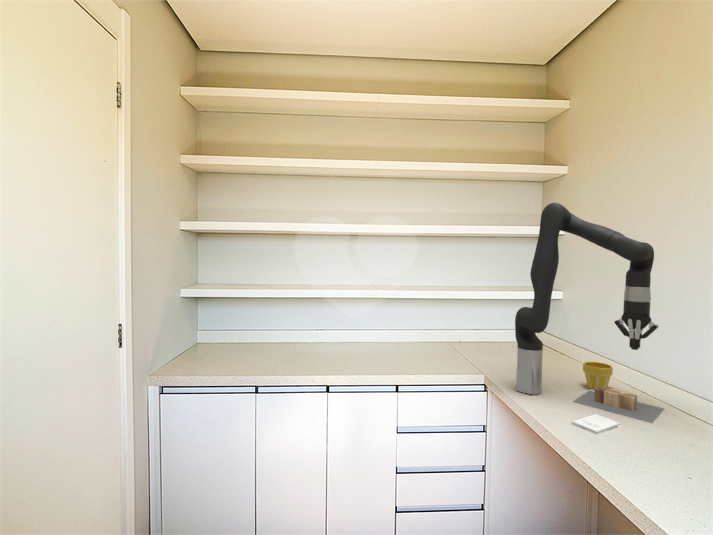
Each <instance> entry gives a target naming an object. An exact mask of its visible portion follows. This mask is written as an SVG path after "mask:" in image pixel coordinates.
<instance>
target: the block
mask: <svg viewBox="0 0 713 535" xmlns="http://www.w3.org/2000/svg"><path fill="white" fill-rule="evenodd" d="M594 392H595V398H594V401H595V402H599V403H603V404H607V405H611V406H615V407H619V408H623V409H626V410H630V411H634V410H635V409H636V408H637V402H638V395H637V394H633V393H628V392H625V391H620V390H617V389H611V388H608V387H607V388H603V387H597V388H596V389H594Z"/></svg>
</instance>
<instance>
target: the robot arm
mask: <svg viewBox="0 0 713 535" xmlns="http://www.w3.org/2000/svg"><path fill="white" fill-rule="evenodd" d="M539 222H540V223H539V230H538V231H539V232H538V238H537V243H536V246H535V249H534V250H535V251H534V256H533V259H532V262H531V268H530V274H529V276H530V280H531V284H532V288H533V297H534V298H533V303H532V307H529V306H523V307H520V308H519V309H518V310H517V311H516V313H515V318H514V325H515V326H514V329H515V333H514V334H515V335H514V336H515V340H516V342H517V346H516V347H517V348H516V349H517V350H516V351H517V352H516V353H517V356H516V378H515V379H516V381H515V382H516V386H515V390H516V392H518V391H519V392H518V393H522V392H523V394H525V393H527V394H526V395H529V394H531V395H530V396H533V395H540V394H542V393H541V392H542V390H543V388H542V387H543V355H544V354H543V351H544V344H543V341H542V340H541V339H540V338H539V337H538V336H537V334H540V333H543V332H544V331H545V330H546V328H547V326H548V324H549V320H550V311H551V310H550V309H551V301H552V294H553V289H554V284H555V280H556V277H557V271H558V267H559V260H560V258H559V257H560V255H559V235H560V232H565V233H569V234H572V235H575V236H577V237H580V238H582V239H584V240H586V241H588V242H590V243H592V244H594V245H597V246H598V247H600V248H602V249H605V250H607V251H610V252H613V253H614V254H615V255H618V256H619V257H621V258H623V259H625V260H627V261H629V269H628V270H627V271H626V273H625V284H624V285H625V287H624V292H623V309H622V312H623V313H622V315H621V316H620V318H619V319H617V320H614V324H615V326H616V327H617V328H618V330H620V332H621V334H622V335H623V336H624V337H628V338H629V343H628V344H629V345H628V346H629V348H631V350H634V351H637V350H639V349H640V348H641V340H642V339H646V338H648V337H649V336H651V334H653V333H655V331H656V330H657V329H658V328H659V325H658V324H655V322H653V321H652V318H651V302H652V301H651V300H652V296H651V280H652V279H651V278H652V277H651V272H652V270H653V265H654V260H655V249H654V247H653V246H652V244H650V243H648V242H644V241H642V242H641V241H638V240H635V239H633V238H630V237H628V236H625V235H624V234H622V233H621V232H619V231H617V230H614V229H611V228H610V227H607V226H604V225H601V224H597V223H594V222H593V223H592V222H589V221H586V220H584V219H582V218H580V217H578V216H577V215H575V214H573V213H572V212H570V211H569V209H568V208H567V207H566V206H564V205H562V204H561V203H559V202H550V203H549V204H547V205H546V206H545V207H544V208H543V209H542V212H541V215H540V220H539ZM624 324H625V325H626V326H627V328H628V329H627V328H626V326H625V325H624ZM647 326H648V330H646V331H645V332H644V333H643V330H644V329H645V328H647ZM642 333H643V334H642ZM532 394H533V395H532Z"/></svg>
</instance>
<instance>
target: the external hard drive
mask: <svg viewBox="0 0 713 535" xmlns="http://www.w3.org/2000/svg"><path fill="white" fill-rule="evenodd" d="M571 425H572V426H576V427H578V428H581V429H583V430H586V431H587V432H591V433H593V434H595V435H599V434H601V433H604V432H608V431H610V430H612V429H615V428H619V425H621V423H620V422H618V421H617V420H613V419H611V418H608V417H605V416H602V415H600V414H596V413H595V414H594V413H593V414H590V415H589V416H585V417H582V418H579V419H576V420H572V421H571Z"/></svg>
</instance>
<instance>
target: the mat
mask: <svg viewBox="0 0 713 535" xmlns="http://www.w3.org/2000/svg"><path fill="white" fill-rule="evenodd" d="M594 398H595V390H594V391H593V390H588V391H587V392H585V393H583V394H582V395H580V396H579V397H577V398H576V399H575V400H572V403H575V404H578V405H583V406H586V407H590V408H594V409H598V410H601V411H605V412H609V413H611V414H612V413H613V414H616V415H620V416H623V417H626V418H627V417H628V418H632V419H634V420H638V421H643V422H646V423H648V424H649V423H650V424H653V423H654V422H655V420H657V418H658V417H659V416H660V415H661V414H662V413H663V412H664V410H665V408H664V407H660V406H656V405H651V404H647V403H644V402H639V401H637V408H636V409H635V410H634V411H630V410H626V409H623V408H619V407H615V406H611V405H607V404H603V403H599V402H595V401H594Z"/></svg>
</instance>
